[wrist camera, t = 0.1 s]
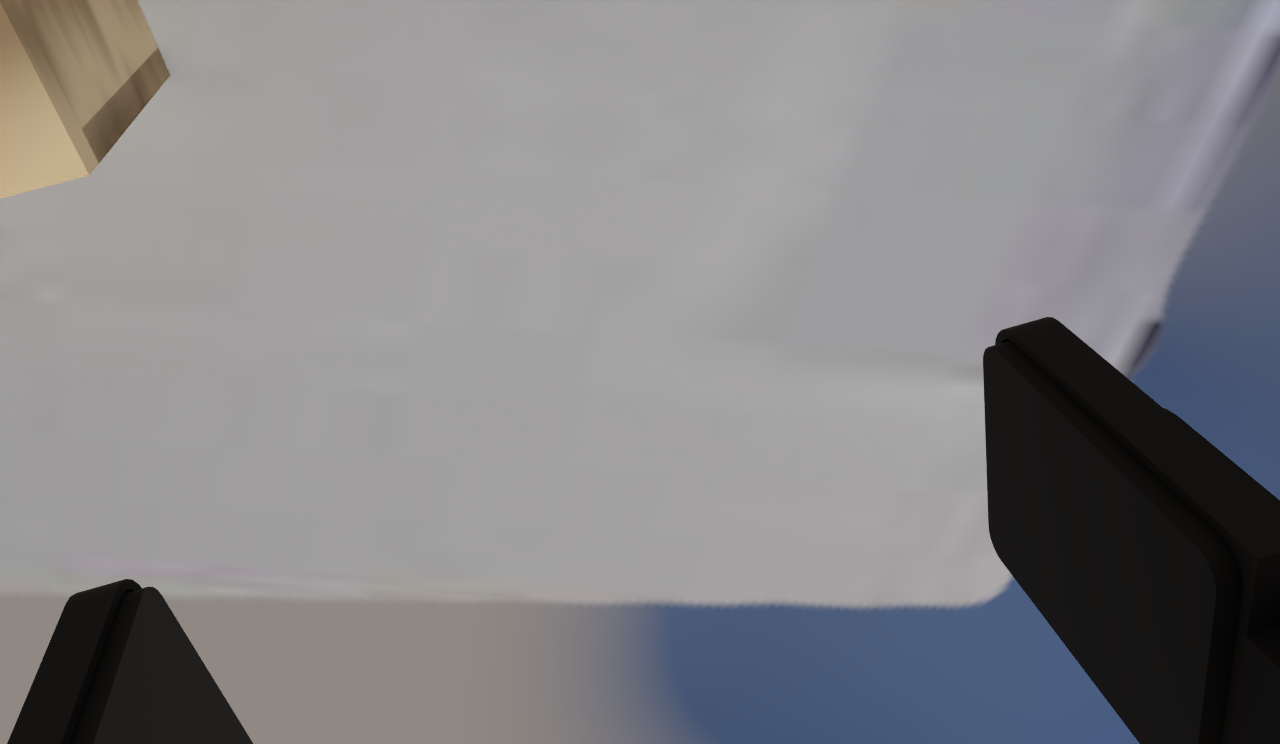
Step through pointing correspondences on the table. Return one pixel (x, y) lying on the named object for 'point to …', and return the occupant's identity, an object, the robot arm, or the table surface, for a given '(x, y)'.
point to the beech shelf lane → (69, 86)
